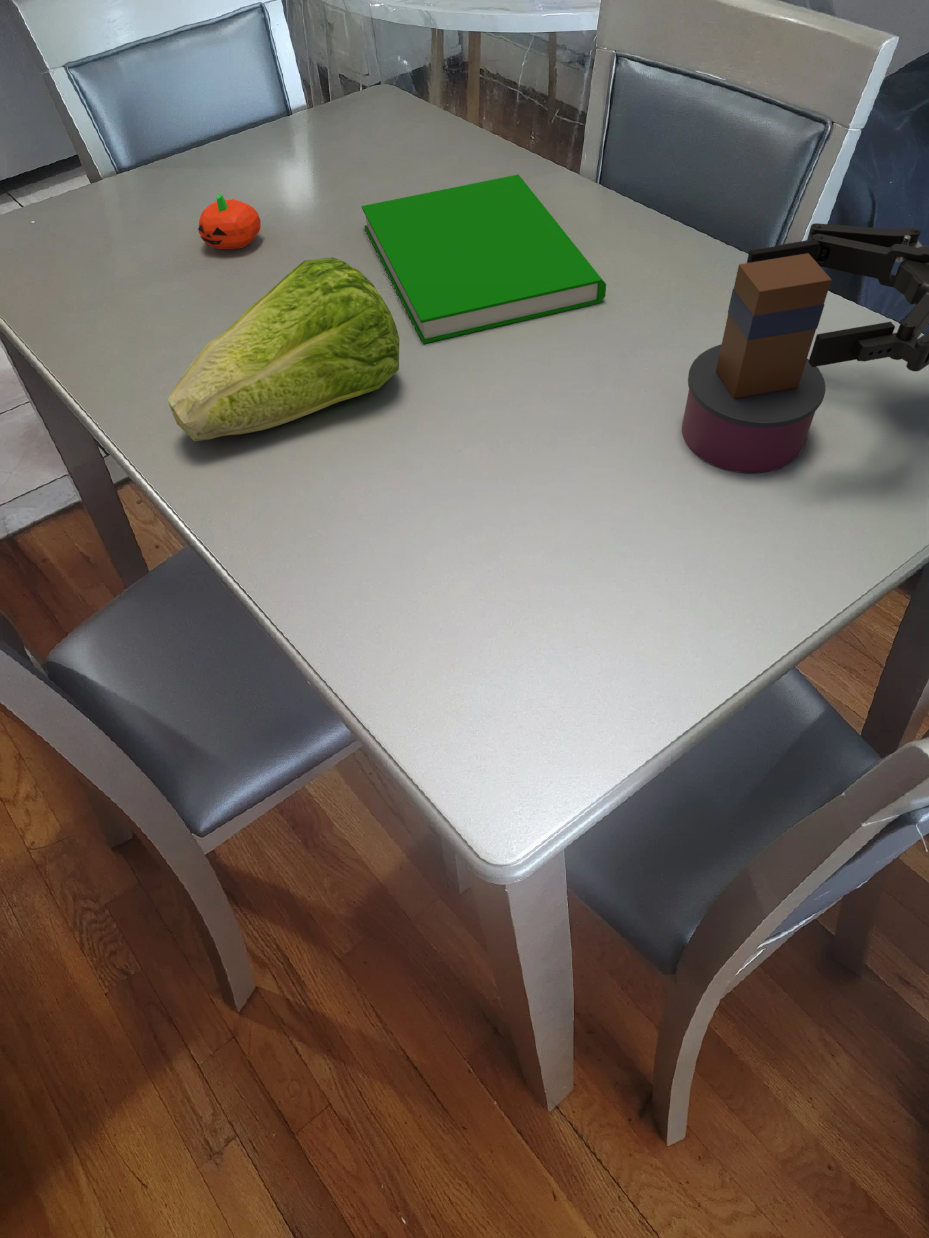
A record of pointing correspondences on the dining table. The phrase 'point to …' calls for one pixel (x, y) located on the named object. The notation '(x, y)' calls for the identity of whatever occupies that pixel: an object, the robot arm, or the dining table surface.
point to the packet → (771, 324)
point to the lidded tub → (747, 419)
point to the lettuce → (290, 354)
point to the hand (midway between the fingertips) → (778, 306)
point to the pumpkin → (228, 224)
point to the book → (479, 258)
